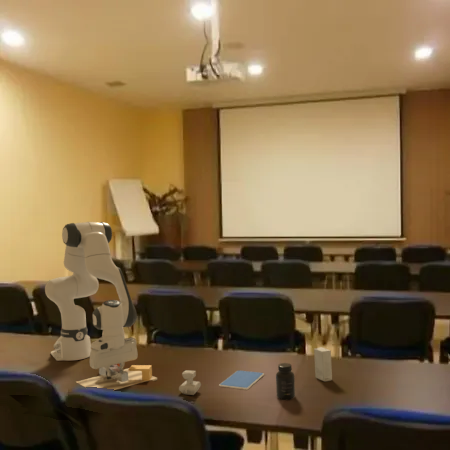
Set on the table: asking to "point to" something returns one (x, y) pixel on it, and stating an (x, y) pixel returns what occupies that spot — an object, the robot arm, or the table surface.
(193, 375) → the stamp
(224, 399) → the table surface
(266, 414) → the table surface
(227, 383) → the blue notebook
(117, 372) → the link
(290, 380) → the supplement bottle
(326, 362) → the skincare box
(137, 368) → the block
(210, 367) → the table surface
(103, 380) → the board
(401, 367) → the table surface
